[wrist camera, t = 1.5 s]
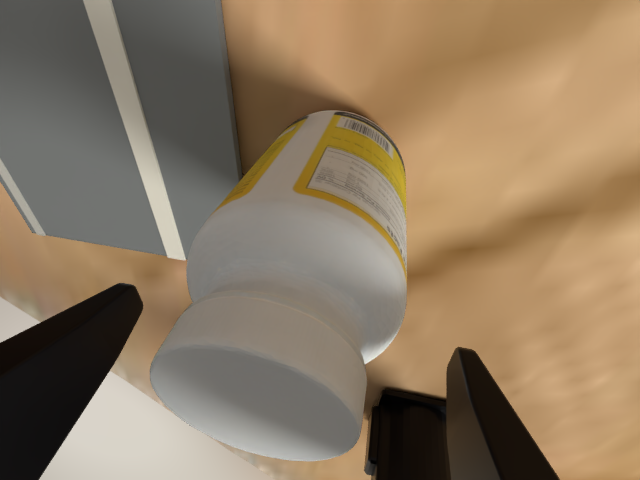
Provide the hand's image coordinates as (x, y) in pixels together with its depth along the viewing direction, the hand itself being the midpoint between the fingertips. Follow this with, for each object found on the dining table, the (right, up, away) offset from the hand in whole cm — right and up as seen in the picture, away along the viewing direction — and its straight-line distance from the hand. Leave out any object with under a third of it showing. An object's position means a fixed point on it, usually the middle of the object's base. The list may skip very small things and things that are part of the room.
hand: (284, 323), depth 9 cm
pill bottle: (+2, +6, +7) cm, 9 cm away
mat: (-11, +7, +9) cm, 16 cm away
